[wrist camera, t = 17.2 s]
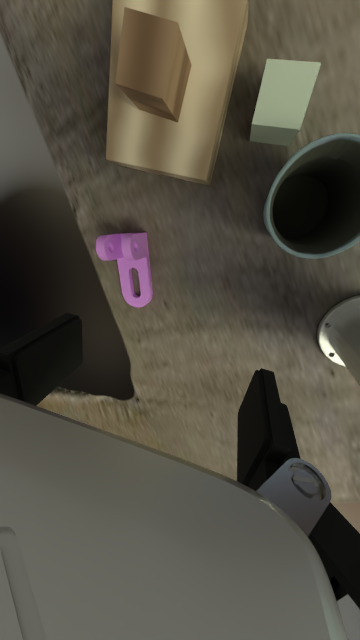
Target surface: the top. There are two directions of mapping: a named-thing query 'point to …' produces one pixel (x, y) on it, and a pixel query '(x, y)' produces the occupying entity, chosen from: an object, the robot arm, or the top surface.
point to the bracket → (129, 263)
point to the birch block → (200, 96)
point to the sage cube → (283, 100)
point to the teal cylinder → (317, 199)
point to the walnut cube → (153, 64)
